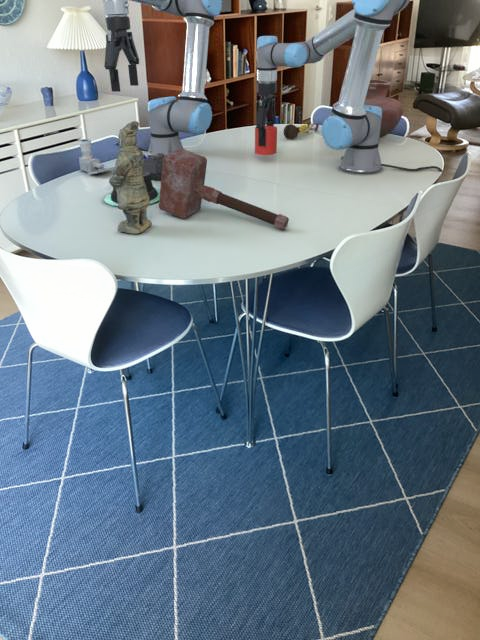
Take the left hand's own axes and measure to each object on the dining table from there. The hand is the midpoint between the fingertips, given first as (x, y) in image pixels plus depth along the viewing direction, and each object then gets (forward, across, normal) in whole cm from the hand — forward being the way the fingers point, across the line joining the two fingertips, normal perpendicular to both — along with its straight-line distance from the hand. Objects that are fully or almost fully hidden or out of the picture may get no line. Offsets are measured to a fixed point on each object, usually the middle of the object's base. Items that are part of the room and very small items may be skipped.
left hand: (125, 88), depth 185 cm
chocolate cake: (+32, -15, -6) cm, 36 cm away
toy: (+32, +7, -3) cm, 33 cm away
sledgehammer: (+32, -30, -43) cm, 61 cm away
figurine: (+32, +89, -43) cm, 104 cm away
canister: (+29, +40, -38) cm, 62 cm away
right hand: (+25, +40, -39) cm, 61 cm away
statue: (+32, -42, -19) cm, 56 cm away
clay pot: (+32, +85, -74) cm, 117 cm away
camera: (+32, +9, +22) cm, 40 cm away
